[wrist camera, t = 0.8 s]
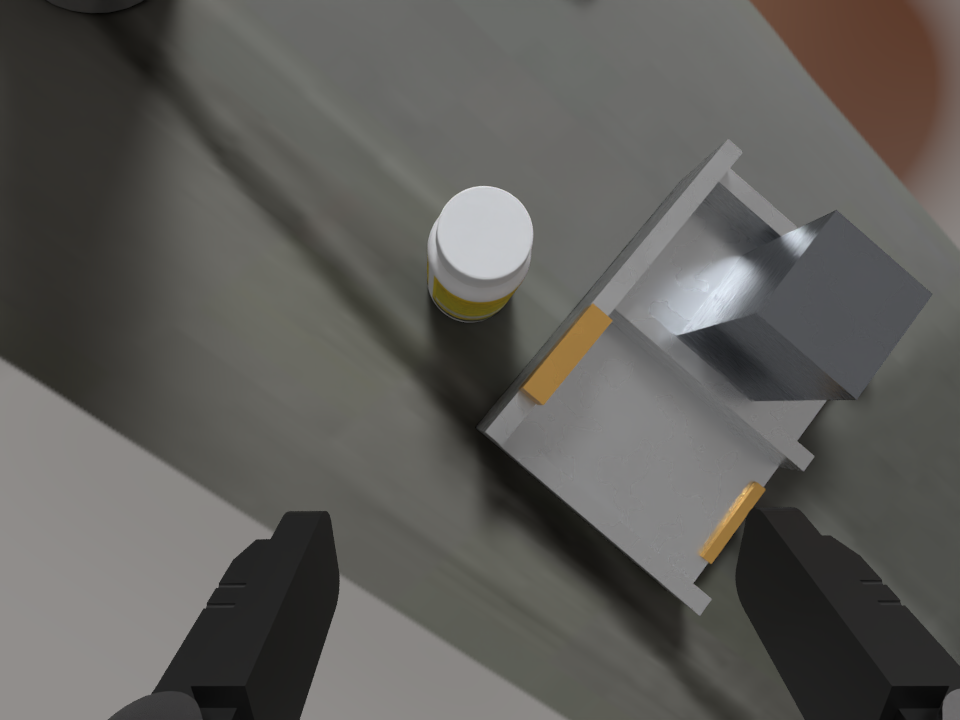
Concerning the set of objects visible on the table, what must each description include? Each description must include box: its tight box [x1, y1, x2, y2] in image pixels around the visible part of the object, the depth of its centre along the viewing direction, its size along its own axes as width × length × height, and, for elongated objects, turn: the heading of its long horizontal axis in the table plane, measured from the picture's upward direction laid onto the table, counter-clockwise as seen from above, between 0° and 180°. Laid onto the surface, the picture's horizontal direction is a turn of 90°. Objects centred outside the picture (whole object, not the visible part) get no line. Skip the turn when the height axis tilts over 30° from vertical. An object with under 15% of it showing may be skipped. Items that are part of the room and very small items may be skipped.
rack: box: [475, 139, 932, 616], centre depth 26 cm, size 14×19×8 cm
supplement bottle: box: [427, 186, 533, 322], centre depth 26 cm, size 5×5×8 cm
